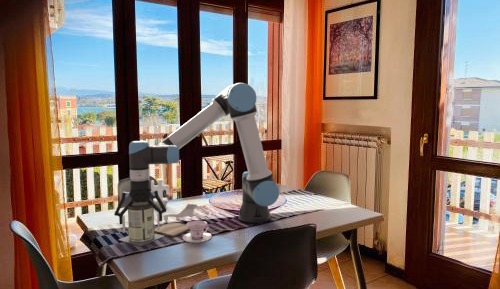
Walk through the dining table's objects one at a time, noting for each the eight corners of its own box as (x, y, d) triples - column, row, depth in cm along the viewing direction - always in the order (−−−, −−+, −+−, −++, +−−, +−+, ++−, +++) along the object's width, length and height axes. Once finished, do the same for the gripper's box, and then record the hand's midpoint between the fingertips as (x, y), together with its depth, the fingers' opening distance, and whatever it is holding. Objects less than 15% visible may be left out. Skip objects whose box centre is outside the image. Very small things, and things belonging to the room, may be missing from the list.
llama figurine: (200, 232, 179) (161, 219, 174) (210, 208, 179) (171, 195, 174) (201, 233, 177) (161, 221, 172) (210, 209, 177) (171, 196, 172)
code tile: (164, 236, 154) (164, 235, 154) (140, 246, 143) (140, 245, 143) (142, 230, 161) (142, 230, 161) (118, 240, 150) (118, 239, 150)
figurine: (170, 207, 198) (169, 179, 196) (152, 208, 195) (151, 180, 193) (168, 203, 204) (168, 177, 203) (151, 205, 201) (150, 178, 200)
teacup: (184, 244, 145) (183, 229, 145) (181, 234, 157) (180, 220, 156) (214, 241, 148) (214, 226, 148) (209, 231, 160) (208, 217, 159)
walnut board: (193, 228, 164) (193, 226, 164) (173, 237, 153) (173, 235, 153) (172, 223, 171) (172, 221, 171) (151, 231, 160) (151, 229, 159)
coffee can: (134, 232, 157) (133, 200, 156) (158, 233, 156) (157, 201, 155) (124, 241, 147) (122, 207, 146) (149, 242, 146) (148, 207, 145)
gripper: (105, 182, 143) (107, 236, 145) (171, 179, 149) (172, 230, 151) (108, 179, 150) (110, 229, 152) (171, 176, 156) (172, 225, 158)
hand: (141, 230), depth 152 cm, fingers open, 13 cm apart
